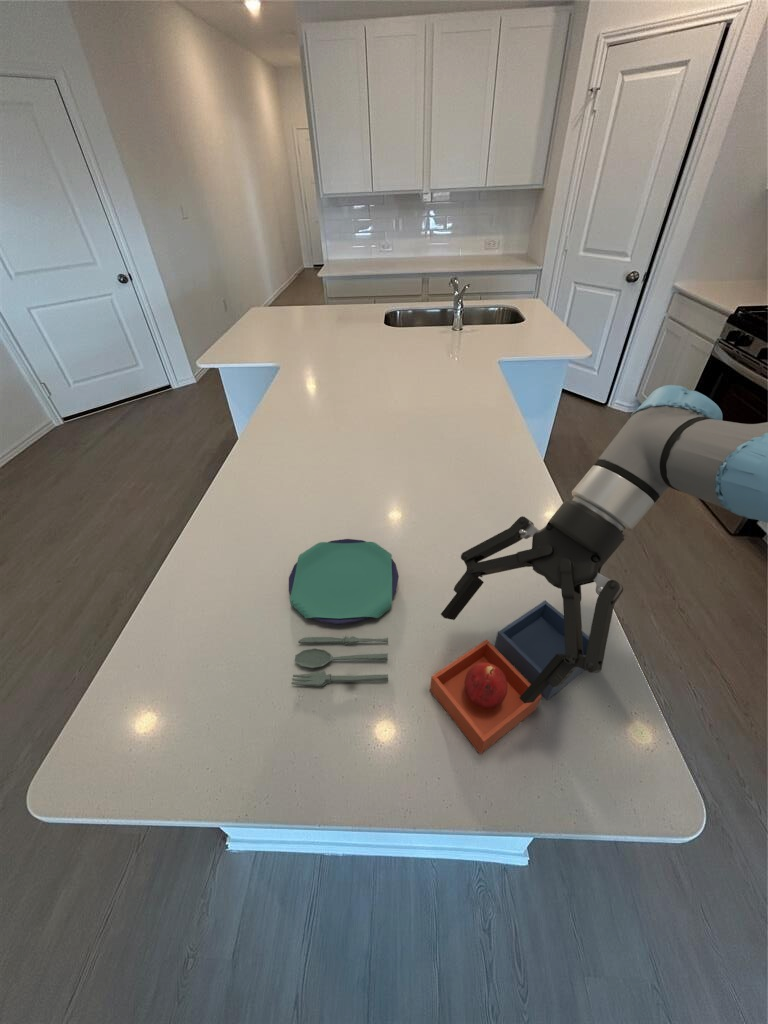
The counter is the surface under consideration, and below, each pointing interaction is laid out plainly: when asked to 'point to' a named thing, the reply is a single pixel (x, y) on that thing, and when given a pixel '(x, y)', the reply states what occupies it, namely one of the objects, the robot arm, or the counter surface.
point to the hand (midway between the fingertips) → (483, 655)
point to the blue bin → (536, 643)
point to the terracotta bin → (475, 720)
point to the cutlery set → (341, 598)
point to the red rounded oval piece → (486, 685)
